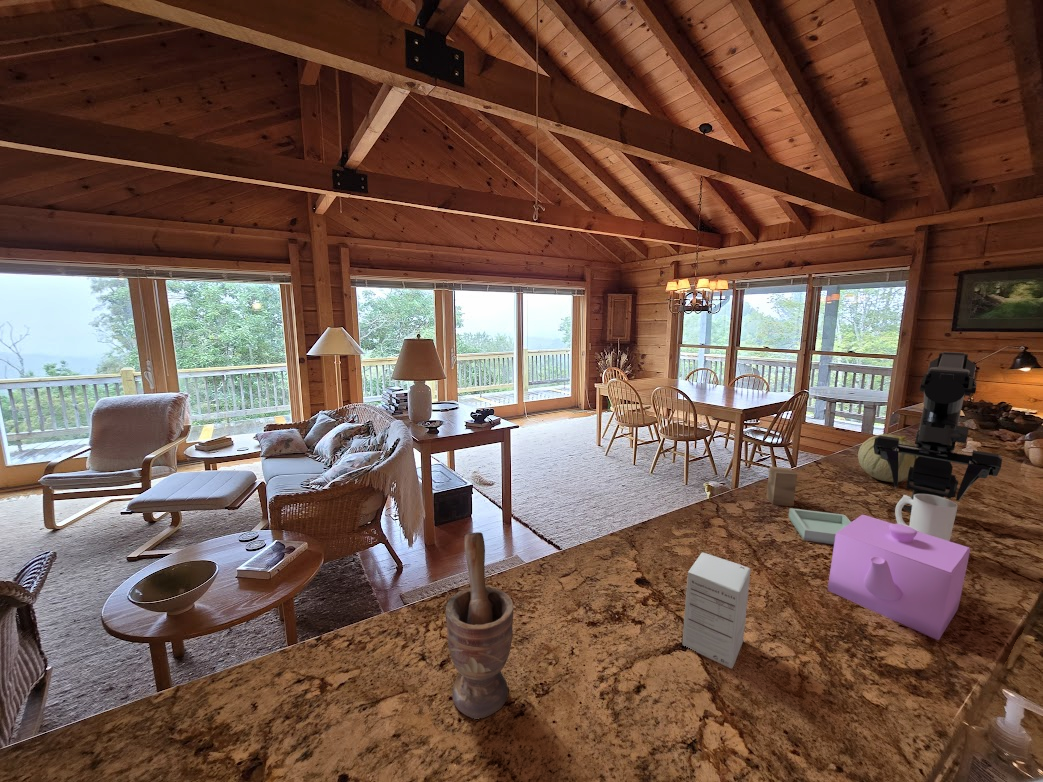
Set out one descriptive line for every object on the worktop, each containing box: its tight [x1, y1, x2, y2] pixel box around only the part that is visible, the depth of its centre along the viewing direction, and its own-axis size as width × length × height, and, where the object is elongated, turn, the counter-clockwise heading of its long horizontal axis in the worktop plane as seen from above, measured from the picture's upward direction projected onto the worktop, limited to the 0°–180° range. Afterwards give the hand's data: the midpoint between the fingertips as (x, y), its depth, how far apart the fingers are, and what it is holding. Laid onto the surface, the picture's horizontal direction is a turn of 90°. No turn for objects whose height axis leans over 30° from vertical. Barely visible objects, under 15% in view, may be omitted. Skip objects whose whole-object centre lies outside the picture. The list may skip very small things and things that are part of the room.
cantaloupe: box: [857, 433, 919, 483], centre depth 132 cm, size 15×15×15 cm
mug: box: [894, 494, 959, 542], centre depth 93 cm, size 10×7×12 cm, turn 18°
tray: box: [788, 507, 852, 545], centre depth 101 cm, size 12×12×2 cm
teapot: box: [827, 514, 971, 642], centre depth 75 cm, size 15×25×14 cm, turn 125°
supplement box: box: [682, 551, 752, 669], centre depth 65 cm, size 7×7×13 cm
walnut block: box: [765, 466, 798, 507], centre depth 117 cm, size 5×5×9 cm
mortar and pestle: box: [445, 531, 514, 720], centre depth 57 cm, size 12×9×20 cm
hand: (925, 493), depth 87 cm, fingers open, 9 cm apart
